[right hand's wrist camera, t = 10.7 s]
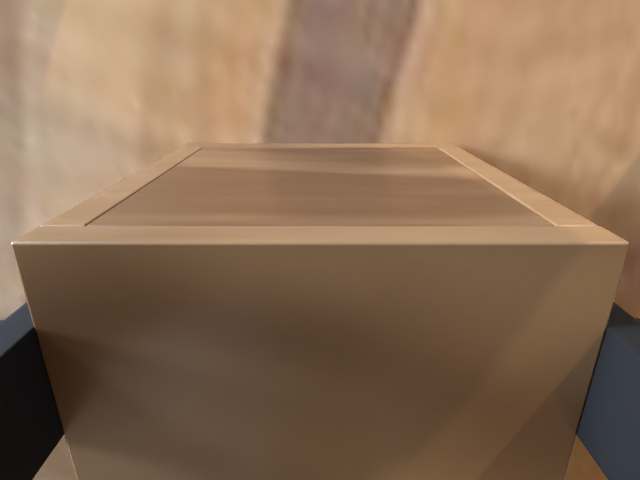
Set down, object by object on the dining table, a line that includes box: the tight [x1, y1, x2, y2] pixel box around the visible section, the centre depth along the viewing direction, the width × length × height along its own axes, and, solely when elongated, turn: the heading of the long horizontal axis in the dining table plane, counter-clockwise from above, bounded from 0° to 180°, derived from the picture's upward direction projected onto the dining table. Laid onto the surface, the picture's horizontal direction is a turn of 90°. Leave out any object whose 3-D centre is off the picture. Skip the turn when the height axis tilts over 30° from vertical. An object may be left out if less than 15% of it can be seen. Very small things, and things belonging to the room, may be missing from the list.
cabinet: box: [11, 144, 630, 480], centre depth 16 cm, size 18×11×11 cm, turn 0°
